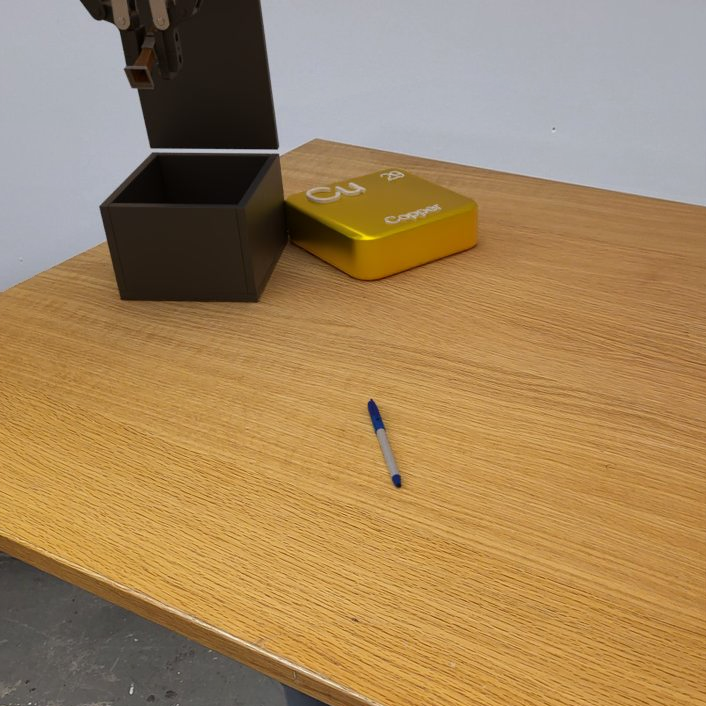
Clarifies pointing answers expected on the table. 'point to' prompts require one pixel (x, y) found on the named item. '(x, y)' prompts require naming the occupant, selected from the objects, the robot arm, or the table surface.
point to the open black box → (197, 227)
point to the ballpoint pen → (384, 442)
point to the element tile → (381, 223)
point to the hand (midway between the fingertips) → (157, 76)
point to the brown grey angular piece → (144, 64)
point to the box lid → (214, 83)
